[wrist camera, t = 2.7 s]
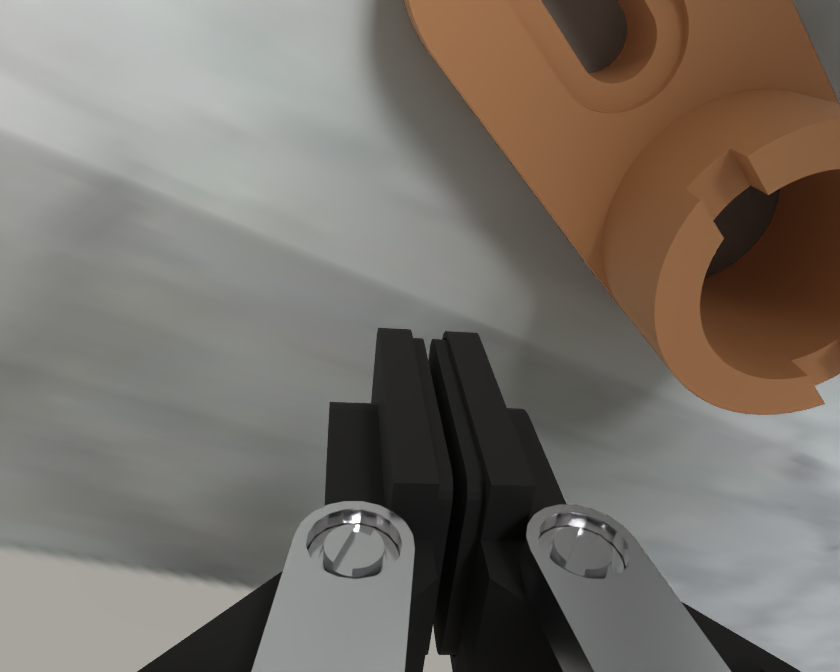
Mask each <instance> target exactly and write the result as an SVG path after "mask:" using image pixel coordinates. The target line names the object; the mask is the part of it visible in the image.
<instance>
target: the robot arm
mask: <svg viewBox="0 0 840 672" xmlns="http://www.w3.org/2000/svg"><path fill="white" fill-rule="evenodd" d="M433 626H434V634H435V641H436V647H437V652H438V654H439V655H450V657H451V663H452V669H453V672H800V671H799V670H797V669H796V668H794V667H792V666H791V665H789V664H787V663H786V662H784V661H782V660H780V659H779V658H777V657H775V656H774V655H772V654H770V653H768V652H767V651H765V650H763V649H762V648H760V647H758V646H756V645H755V644H753V643H751V642H750V641H748V640H746V639H744V638H743V637H741V636H739V635H738V634H736V633H734V632H732V631H731V630H729V629H727V628H726V627H724V626H722V625H720V624H719V623H717V622H715V621H714V620H712V619H710V618H708V617H707V616H705V615H703V614H702V613H700V612H698V611H696V610H695V609H693V608H691V607H689V606H688V605H686V604H684V603H683V602H681V601H680V600H679V598H678V597H677V596H676V594H675V593H674V591H673V590H672V589H671V587H670V586H669V585H668V583H667V582H666V580H665V579H664V578H663V576H662V575H661V573H660V572H659V571H658V569H657V568H656V566H655V565H654V564H653V562H652V561H651V560H650V558H649V557H648V555H647V554H646V553H645V551H644V550H643V548H642V547H641V546H640V544H639V543H638V542H637V540H636V539H635V537H634V536H633V535H632V534H631V533H630V532H629V531H628V530H627V529H626V528H625V527H624V526H623V525H622V524H620V523H619V522H617V521H616V520H614V519H613V518H611V517H610V516H608V515H606V514H604V513H601V512H599V511H597V510H594V509H592V508H587V507H583V506H579V505H566V502H565V500H564V498H563V495H562V493H561V491H560V488H559V486H558V484H557V481H556V479H555V476H554V474H553V472H552V469H551V467H550V465H549V462H548V460H547V458H546V455H545V453H544V451H543V448H542V446H541V444H540V441H539V439H538V437H537V434H536V432H535V430H534V427H533V425H532V423H531V420H530V418H529V416H528V414H527V412H526V411H525V410H523V409H513V408H506V405H505V402H504V400H503V397H502V395H501V392H500V389H499V387H498V384H497V382H496V379H495V376H494V374H493V371H492V368H491V366H490V363H489V361H488V358H487V355H486V353H485V350H484V347H483V345H482V342H481V340H480V337H479V335H478V333H467V332H448V331H445V332H444V334H443V338H442V340H439V339H432V341H431V345H430V352H429V360H428V358H427V353H426V349H425V344H424V340H423V339H419V338H413V337H412V332H411V330H408V329H389V328H378V332H377V341H376V353H375V365H374V376H373V388H372V400H371V403H345V402H330V408H329V427H328V447H327V467H326V488H325V506H324V507H322V508H320V509H317V510H315V511H313V512H312V513H311V514H310V515H308V516H307V517H306V518H305V519H304V520H303V521H302V522H301V523H300V525H299V527H298V529H297V530H296V532H295V534H294V537H293V540H292V543H291V546H290V550H289V553H288V556H287V559H286V562H285V566H284V569H283V571H282V572H280V573H279V574H278V575H276V576H275V577H273V578H272V579H270V580H269V581H267V582H266V583H265V584H263V585H262V586H260V587H259V588H257V589H256V590H254V591H253V592H252V593H250V594H249V595H247V596H246V597H244V598H243V599H241V600H240V601H239V602H237V603H236V604H234V605H233V606H232V607H230V608H229V609H227V610H226V611H224V612H223V613H221V614H220V615H218V616H217V617H216V618H214V619H213V620H211V621H210V622H208V623H207V624H206V625H204V626H203V627H201V628H200V629H198V630H197V631H195V632H194V633H192V634H191V635H190V636H188V637H187V638H185V639H184V640H182V641H181V642H179V643H178V644H177V645H175V646H174V647H172V648H171V649H169V650H168V651H166V652H165V653H164V654H162V655H161V656H160V657H158V658H156V659H155V660H154V661H152V662H151V663H149V664H148V665H146V666H145V667H143V668H142V669H140V670H139V671H138V672H423V666H424V659H425V655H427V654H428V651H429V644H430V639H431V633H432V627H433Z"/></svg>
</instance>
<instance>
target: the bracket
mask: <svg viewBox="0 0 840 672" xmlns="http://www.w3.org/2000/svg"><path fill="white" fill-rule="evenodd" d="M617 1H618V3H619V5H620V7H621V8H622V10H623V12H624V14H625V17H626V22H627V36H626V40H625V44H624V46H623V48H622V50H621V52H620V54H619V55H618V57H617V58H616V59H615V60H614V61H613V62H612V63H611V64H610V65H609V66H607V67H606V68H604V69H602V70H600V71H597V72H593V73H588V72H587V71H586V70H585V68H584V67H583V65H582V64H581V62H580V60H579V59H578V57H577V56H576V54H575V53H574V51H573V50H572V48H571V46H570V45H569V43H568V42H567V40H566V39H565V37H564V35H563V34H562V32H561V31H560V29H559V28H558V26H557V24H556V23H555V21H554V20H553V18H552V17H551V15H550V13H549V12H548V10H547V9H546V7H545V6H544V4H543V2H542V1H541V0H404V4H405V7H406V10H407V13H408V15H409V18H410V20H411V23H412V25H413V27H414V29H415V31H416V33H417V35H418V37H419V39H420V40H421V42H422V43H423V45H424V46H425V48H426V49H427V51H428V52H429V54H430V55H431V57H432V58H433V59H434V61H435V62H436V63H437V65H438V66H439V67H440V69H441V70H442V71H443V73H444V74H445V75H446V77H447V78H448V79H449V81H450V82H451V83H452V85H453V86H454V87H455V89H456V90H457V91H458V93H459V94H460V95H461V97H462V98H463V99H464V101H465V102H466V103H467V105H468V106H469V107H470V109H471V110H472V111H473V113H474V114H475V115H476V117H477V118H478V119H479V121H480V122H481V123H482V125H483V126H484V127H485V129H486V130H487V131H488V133H489V134H490V135H491V137H492V138H493V139H494V141H495V142H496V144H497V145H498V146H499V148H500V149H501V150H502V152H503V153H504V154H505V156H506V157H507V158H508V160H509V161H510V162H511V164H512V165H513V166H514V168H515V169H516V170H517V172H518V173H519V174H520V176H521V177H522V178H523V180H524V181H525V182H526V184H527V185H528V186H529V188H530V189H531V190H532V192H533V193H534V194H535V196H536V197H537V198H538V200H539V201H540V202H541V204H542V205H543V206H544V208H545V209H546V210H547V212H548V213H549V214H550V216H551V217H552V218H553V220H554V221H555V222H556V224H557V225H558V226H559V228H560V229H561V230H562V232H563V233H564V235H565V236H566V237H567V239H568V240H569V241H570V243H571V244H572V245H573V247H574V248H575V249H576V251H577V252H578V253H579V255H580V256H581V257H582V259H583V260H584V261H585V263H586V264H587V265H588V267H589V268H590V269H591V271H592V272H593V273H594V275H595V276H596V277H597V279H598V280H599V281H600V282H601V284H602V285H603V286H604V287H605V289H606V290H607V291H608V292H609V294H610V295H611V296H612V297H613V299H614V300H615V301H616V303H617V304H618V305H619V306H620V308H621V309H622V310H623V311H624V313H625V314H626V315H627V316H628V318H629V319H630V320H631V321H632V323H633V324H634V325H635V326H636V328H637V329H638V330H639V331H640V333H641V334H642V335H643V337H644V338H645V339H646V340H647V342H648V343H649V344H650V345H651V347H652V348H653V349H654V350H655V352H656V353H657V354H658V355H659V357H660V358H661V359H662V360H663V362H664V363H665V364H666V366H667V367H668V368H669V369H670V371H671V372H672V373H673V374H674V376H675V377H676V378H677V379H678V380H679V381H680V382H681V383H682V384H683V385H684V386H685V387H686V388H687V389H688V390H689V391H691V392H692V393H693V394H694V395H696V396H697V397H699V398H701V399H702V400H704V401H706V402H708V403H710V404H712V405H715V406H717V407H719V408H723V409H726V410H730V411H733V412H739V413H745V414H757V415H770V414H783V413H791V412H796V411H801V410H806V409H809V408H813V407H816V406H820V405H823V404H825V403H824V401H823V400H822V398H821V396H820V395H819V393H818V391H817V390H816V388H815V385H817V384H820V383H822V382H824V381H826V380H828V379H830V378H833V377H835V376H836V375H838V374H839V373H840V104H839V102H838V100H837V98H836V95H835V93H834V91H833V89H832V87H831V84H830V82H829V80H828V78H827V76H826V74H825V71H824V69H823V67H822V65H821V63H820V60H819V58H818V56H817V54H816V52H815V49H814V47H813V45H812V43H811V41H810V39H809V36H808V34H807V32H806V30H805V28H804V25H803V23H802V21H801V19H800V17H799V14H798V12H797V10H796V8H795V6H794V4H793V1H792V0H617ZM749 186H752V187H754V188H756V189H758V190H760V191H762V192H764V193H765V194H767V195H770V194H771V193H773V192H775V191H776V190H778V189H780V194H779V199H778V203H777V206H776V209H775V212H774V215H773V217H772V219H771V221H770V223H769V225H768V227H767V228H766V230H765V232H764V233H763V235H762V236H761V237H760V239H759V240H758V241H757V242H756V244H755V245H754V246H753V247H752V248H751V249H750V250H749V251H748V252H747V253H746V254H745V255H744V256H743V257H741V258H740V259H739V260H738V261H736V262H735V263H734V264H732V265H731V266H729V267H727V268H726V269H724V270H722V271H720V272H718V273H716V274H714V275H711V276H709V277H706V278H705V275H706V272H707V269H708V267H709V265H710V262H711V260H712V258H713V256H714V254H715V252H716V250H717V249H718V247H719V246H720V244H721V243H722V241H723V239H724V237H723V236H722V234H721V233H720V231H719V229H718V228H717V226H716V224H715V223H714V219H715V218H716V217H717V216H718V214H719V213H720V212H721V211H722V210H723V209H724V208H725V207H726V206H727V205H728V204H729V203H730V202H731V201H732V200H733V199H734V198H735V197H736V196H738V195H739V194H740V193H742V192H743V191H744V190H745V189H747V188H748V187H749Z"/></svg>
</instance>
